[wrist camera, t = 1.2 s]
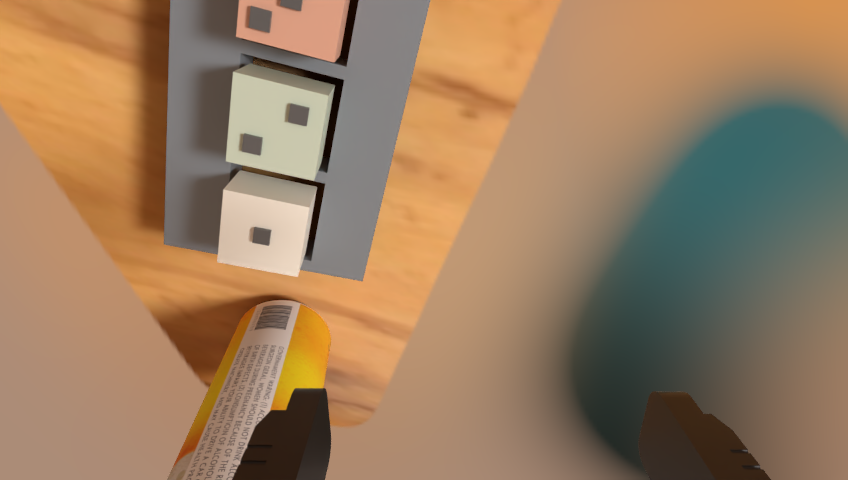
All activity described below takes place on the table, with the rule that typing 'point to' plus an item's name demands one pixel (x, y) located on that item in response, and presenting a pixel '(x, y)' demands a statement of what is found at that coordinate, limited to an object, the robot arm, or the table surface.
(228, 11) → the slate board
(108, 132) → the table surface
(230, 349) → the beer can
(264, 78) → the tile two sage
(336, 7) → the tile three terracotta
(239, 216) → the tile one cream
